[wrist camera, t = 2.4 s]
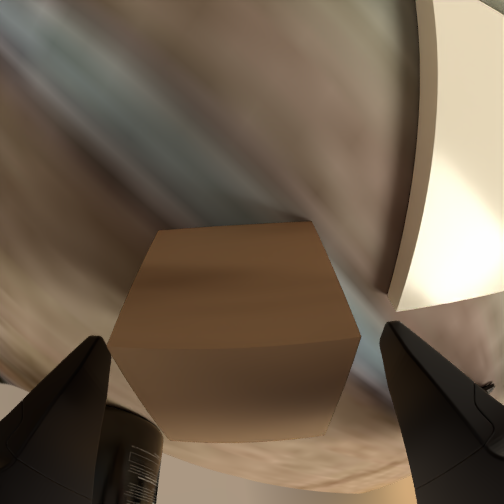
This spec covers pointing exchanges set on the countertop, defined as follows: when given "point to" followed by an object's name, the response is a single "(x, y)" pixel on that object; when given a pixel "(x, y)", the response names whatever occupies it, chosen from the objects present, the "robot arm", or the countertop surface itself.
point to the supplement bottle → (127, 460)
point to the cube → (237, 333)
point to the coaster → (455, 160)
